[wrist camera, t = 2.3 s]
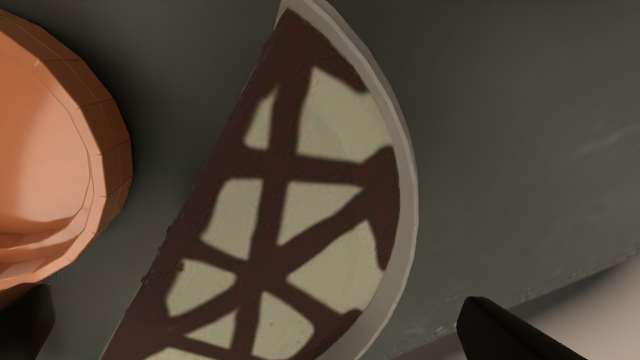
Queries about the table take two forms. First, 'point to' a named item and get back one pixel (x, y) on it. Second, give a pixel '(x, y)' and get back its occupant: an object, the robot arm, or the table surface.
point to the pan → (54, 154)
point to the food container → (288, 213)
